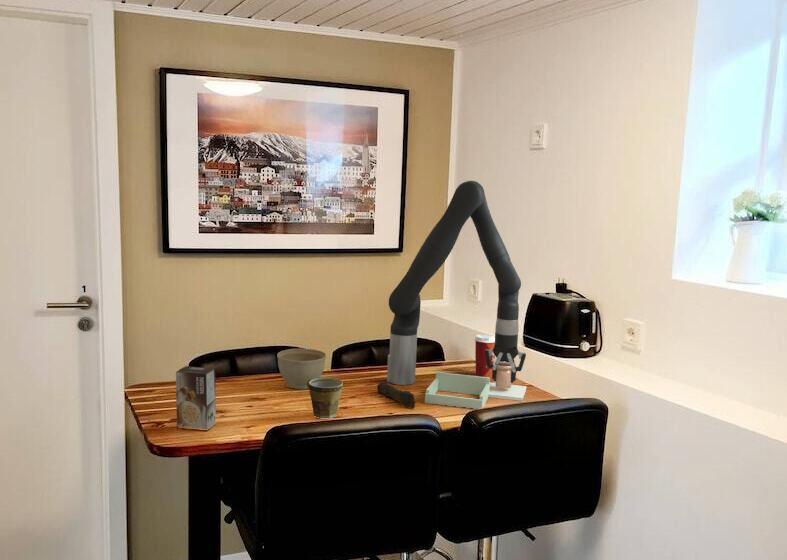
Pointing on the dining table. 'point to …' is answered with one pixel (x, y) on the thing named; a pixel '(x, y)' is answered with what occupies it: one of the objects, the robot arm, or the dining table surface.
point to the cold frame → (458, 390)
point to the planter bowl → (300, 366)
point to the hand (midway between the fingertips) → (503, 381)
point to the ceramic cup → (325, 396)
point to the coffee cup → (483, 354)
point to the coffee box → (195, 397)
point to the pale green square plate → (507, 392)
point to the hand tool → (397, 394)
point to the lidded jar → (503, 375)
